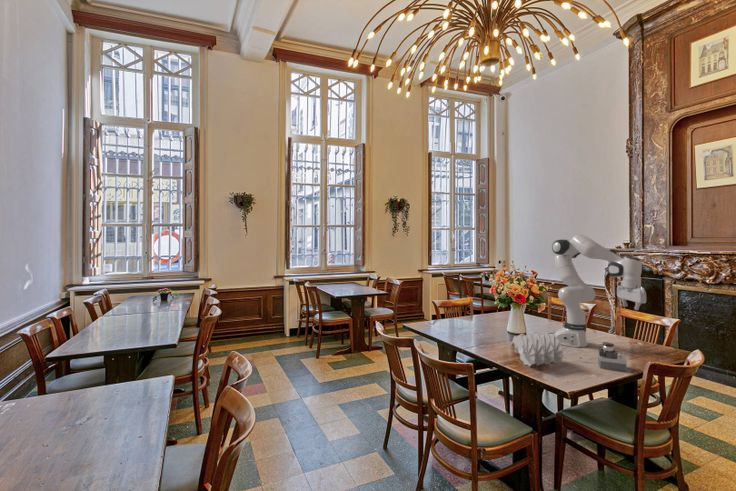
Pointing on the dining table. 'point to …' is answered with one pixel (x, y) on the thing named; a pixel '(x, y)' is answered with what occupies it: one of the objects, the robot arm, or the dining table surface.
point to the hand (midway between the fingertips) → (630, 308)
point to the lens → (608, 347)
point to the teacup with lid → (516, 346)
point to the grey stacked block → (611, 360)
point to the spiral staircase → (539, 348)
